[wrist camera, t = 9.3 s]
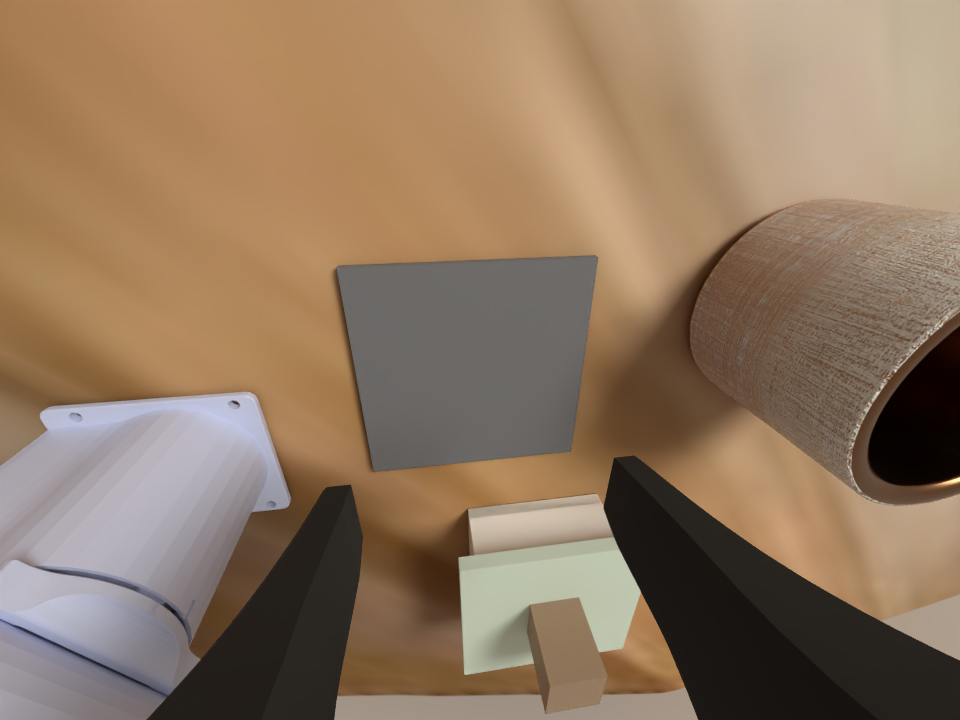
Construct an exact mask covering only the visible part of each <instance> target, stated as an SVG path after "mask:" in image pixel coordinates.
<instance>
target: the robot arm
mask: <svg viewBox="0 0 960 720" xmlns="http://www.w3.org/2000/svg"><path fill="white" fill-rule="evenodd" d="M232 400H233V401H237V402H238V403H239V404H240V405H237V404H234V403H233V402H232ZM78 414H80V415H81V416H82V417H81V416H79V415H78ZM40 419H41V421H42V422H43V424H44V425H45V427H46V428H47V429H48V430H47V431H46V432H45V433H43V434H42V435H41V436H39V437H38V438H37V439H35V440H34V441H33V442H31V443H30V444H29V445H27V446H26V447H25V448H23V449H22V450H21V451H19V452H18V453H17V454H15V455H14V456H13V457H11V458H10V459H9V460H7V461H6V462H5V463H3V464H2V465H1V466H0V720H334V716H335V708H336V700H337V694H338V687H339V681H340V675H341V670H342V665H343V660H344V655H345V650H346V645H347V639H348V634H349V629H350V624H351V619H352V614H353V609H354V603H355V598H356V593H357V588H358V582H359V576H360V565H361V553H362V541H363V536H362V531H361V527H360V522H359V518H358V514H357V509H356V505H355V500H354V496H353V491H352V487H351V485H344V486H334V487H327V488H326V489H325V490H324V491H323V492H322V494H321V495H320V497H319V499H318V500H317V502H316V504H315V505H314V507H313V508H312V510H311V512H310V513H309V515H308V517H307V518H306V520H305V521H304V523H303V524H302V526H301V527H300V529H299V531H298V532H297V534H296V535H295V537H294V538H293V540H292V541H291V543H290V544H289V545H288V547H287V548H286V550H285V551H284V553H283V554H282V556H281V557H280V559H279V560H278V561H277V563H276V564H275V566H274V567H273V569H272V570H271V571H270V573H269V574H268V576H267V577H266V578H265V580H264V581H263V582H262V584H261V585H260V586H259V588H258V589H257V590H256V592H255V593H254V594H253V596H252V597H251V598H250V600H249V601H248V602H247V604H246V605H245V606H244V608H243V609H242V610H241V611H240V613H239V614H238V615H237V616H236V618H235V619H234V620H233V621H232V623H231V624H230V625H229V626H228V628H227V629H226V630H225V631H224V633H223V634H222V635H221V636H220V637H219V639H218V640H217V641H216V642H215V643H214V644H213V646H212V647H211V648H210V649H209V650H208V652H207V653H206V654H205V655H204V656H203V657H202V659H199V658H198V657H196V656H195V655H194V654H193V653H192V652H191V651H190V649H189V647H190V645H191V642H192V640H193V638H194V636H195V634H196V632H197V629H198V627H199V625H200V623H201V621H202V619H203V616H204V614H205V612H206V610H207V608H208V606H209V603H210V601H211V599H212V597H213V595H214V593H215V590H216V588H217V586H218V584H219V582H220V580H221V577H222V575H223V573H224V571H225V569H226V567H227V564H228V562H229V560H230V558H231V556H232V554H233V552H234V549H235V547H236V545H237V543H238V541H239V539H240V536H241V534H242V532H243V530H244V528H245V526H246V523H247V521H248V519H249V517H250V515H251V513H252V512H258V511H267V510H276V509H283V508H286V507H288V506H289V504H290V501H291V497H290V494H289V491H288V488H287V485H286V482H285V479H284V476H283V473H282V470H281V467H280V464H279V461H278V458H277V455H276V452H275V449H274V446H273V443H272V440H271V437H270V434H269V431H268V428H267V425H266V422H265V419H264V416H263V413H262V410H261V407H260V404H259V401H258V399H257V397H256V396H255V395H254V394H253V393H250V392H234V393H221V394H208V395H195V396H181V397H168V398H155V399H142V400H129V401H115V402H102V403H89V404H76V405H63V406H52V407H48V408H47V409H45V410H44V411H42V412H41V413H40ZM271 501H273V502H271ZM603 509H604V512H605V515H606V517H607V520H608V523H609V526H610V528H611V531H612V534H613V536H614V539H615V541H616V544H617V546H618V548H619V550H620V552H621V554H622V556H623V558H624V560H625V562H626V564H627V566H628V568H629V570H630V572H631V574H632V576H633V577H634V579H635V581H636V583H637V585H638V587H639V589H640V591H641V593H642V595H643V597H644V599H645V601H646V603H647V604H648V606H649V608H650V610H651V612H652V614H653V616H654V618H655V620H656V622H657V624H658V626H659V628H660V630H661V632H662V634H663V636H664V638H665V640H666V642H667V644H668V647H669V649H670V651H671V654H672V656H673V658H674V661H675V663H676V666H677V668H678V670H679V673H680V675H681V678H682V680H683V682H684V685H685V687H686V690H687V692H688V694H689V697H690V700H691V702H692V705H693V707H694V710H695V712H696V715H697V717H698V720H960V660H957V659H955V658H953V657H951V656H949V655H947V654H945V653H943V652H940V651H938V650H936V649H934V648H932V647H930V646H928V645H926V644H924V643H922V642H920V641H918V640H916V639H914V638H912V637H910V636H908V635H906V634H904V633H902V632H900V631H898V630H896V629H894V628H893V627H891V626H889V625H887V624H885V623H883V622H881V621H879V620H877V619H875V618H874V617H872V616H870V615H868V614H866V613H864V612H862V611H860V610H859V609H857V608H855V607H853V606H852V605H850V604H848V603H846V602H844V601H843V600H841V599H839V598H837V597H836V596H834V595H832V594H830V593H828V592H827V591H825V590H823V589H821V588H820V587H818V586H816V585H815V584H813V583H811V582H810V581H808V580H806V579H805V578H803V577H801V576H800V575H798V574H796V573H795V572H793V571H792V570H790V569H788V568H787V567H785V566H784V565H782V564H781V563H779V562H777V561H776V560H774V559H773V558H771V557H769V556H768V555H766V554H765V553H763V552H762V551H760V550H759V549H757V548H756V547H754V546H753V545H751V544H750V543H749V542H747V541H746V540H744V539H743V538H741V537H740V536H739V535H737V534H736V533H734V532H733V531H732V530H730V529H729V528H727V527H726V526H725V525H723V524H722V523H720V522H719V521H718V520H716V519H715V518H714V517H712V516H711V515H710V514H708V513H707V512H706V511H704V510H703V509H702V508H700V507H699V506H698V505H696V504H695V503H694V502H693V501H691V500H690V499H689V498H687V497H686V496H685V495H684V494H682V493H681V492H680V491H679V490H677V489H676V488H675V487H674V486H672V485H671V484H670V483H669V482H667V481H666V480H665V479H664V478H662V477H661V476H660V475H659V474H657V473H656V472H655V471H654V470H652V469H651V468H650V467H649V466H647V465H646V464H645V463H644V462H642V461H641V460H640V459H638V458H637V457H636V456H627V457H617V458H614V461H613V465H612V470H611V475H610V479H609V484H608V489H607V494H606V498H605V503H604V508H603Z"/></svg>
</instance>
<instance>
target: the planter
mask: <svg viewBox="0 0 960 720" xmlns="http://www.w3.org/2000/svg"><path fill="white" fill-rule="evenodd" d="M689 341H690V348H691V352H692V355H693V358H694V360H695V363H696V364H697V366H698V368H699V369H700V370H701V371H702V373H703V374H704V375H705V376H706V377H707V378H708V379H709V380H710V381H711V382H712V383H713V384H715V385H716V386H717V387H718V388H720V389H721V390H722V391H724V392H725V393H726V394H728V395H729V396H730V397H732V398H733V399H734V400H736V401H737V402H738V403H739V404H741V405H742V406H743V407H745V408H746V409H747V410H749V411H750V412H751V413H753V414H754V415H755V416H757V417H758V418H760V419H761V420H762V421H764V422H765V423H766V424H768V425H769V426H770V427H772V428H773V429H774V430H776V431H777V432H778V433H780V434H781V435H782V436H783V437H785V438H786V439H787V440H789V441H790V442H791V443H793V444H794V445H795V446H797V447H798V448H799V449H801V450H802V451H803V452H805V453H806V454H807V455H808V456H810V457H811V458H812V459H814V460H815V461H816V462H818V463H819V464H820V465H822V466H823V467H824V468H825V469H827V470H828V471H829V472H831V473H832V474H833V475H834V476H836V477H837V478H838V479H840V480H841V481H842V482H844V483H845V484H846V485H847V486H849V487H850V488H851V489H853V490H854V491H855V492H857V493H858V494H859V495H861V496H862V497H864V498H866V499H867V500H870V501H872V502H875V503H879V504H884V505H892V506H907V505H917V504H923V503H929V502H933V501H938V500H942V499H945V498H949V497H952V496H955V495H958V494H960V214H957V213H950V212H942V211H935V210H927V209H920V208H912V207H905V206H897V205H889V204H882V203H874V202H866V201H858V200H849V199H820V200H812V201H807V202H803V203H799V204H796V205H793V206H790V207H788V208H785V209H783V210H781V211H779V212H777V213H775V214H773V215H771V216H770V217H768V218H766V219H764V220H763V221H761V222H760V223H758V224H757V225H755V226H754V227H753V228H751V229H750V230H749V231H748V232H746V233H745V234H744V235H743V236H742V237H741V238H739V239H738V240H737V241H736V242H735V243H734V244H733V245H732V246H731V247H730V248H729V249H728V250H727V251H726V253H725V254H724V255H723V256H722V257H721V259H720V260H719V261H718V262H717V264H716V265H715V267H714V268H713V269H712V271H711V272H710V274H709V275H708V277H707V279H706V280H705V282H704V284H703V286H702V288H701V290H700V292H699V295H698V297H697V299H696V302H695V305H694V308H693V312H692V316H691V321H690V330H689Z"/></svg>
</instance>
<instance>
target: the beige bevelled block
mask: <svg viewBox="0 0 960 720" xmlns="http://www.w3.org/2000/svg"><path fill="white" fill-rule="evenodd" d="M603 508H604V507H603V505H602V503H601V501H600V499H599V497H598V495H597V494H591V495H582V496H574V497H565V498H557V499H548V500H540V501H531V502H523V503H514V504H506V505H497V506H489V507H480V508H472V509H468V528H469V556H473V555H480V554H488V553H496V552H503V551H511V550H519V549H526V548H534V547H541V546H549V545H557V544H564V543H572V542H579V541H587V540H595V539H602V538H610V537H614V536H613V534H612V531H611V528H610V526H609V523H608V520H607V517H606V515H605V512H604V509H603Z"/></svg>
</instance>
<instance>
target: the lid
mask: <svg viewBox="0 0 960 720" xmlns="http://www.w3.org/2000/svg"><path fill="white" fill-rule="evenodd" d="M458 559H459V581H460V602H461V623H462V645H463V664H464V675H467V674H473V673H479V672H485V671H491V670H497V669H503V668H509V667H515V666H521V665H527V664H533V663H534V665H535V670H536V674H537V679H538V683H539V688H540V692H541V696H542V701H543V705H544V710H545V713H546V714H548V713H554V712H559V711H564V710H570V709H575V708H580V707H586V706H591V705H596V704H599V703H600V700H601V697H602V693H603V690H604V687H605V684H606V681H607V677H608V676H607V673H606V671H605V668H604V665H603V662H602V660H601V657H600V654H599V652H604V651H610V650H616V649H622V648H623V645H624V642H625V639H626V636H627V633H628V630H629V627H630V623H631V620H632V617H633V614H634V611H635V608H636V605H637V602H638V599H639V596H640V593H641V591H640V589H639V587H638V585H637V583H636V581H635V579H634V577H633V576H632V574H631V572H630V570H629V568H628V566H627V564H626V562H625V560H624V558H623V556H622V554H621V552H620V550H619V548H618V546H617V544H616V541H615V539H614V537H610V538H602V539H595V540H587V541H579V542H572V543H564V544H557V545H549V546H541V547H534V548H526V549H519V550H511V551H503V552H496V553H488V554H480V555H473V556H465V557H458Z"/></svg>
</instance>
